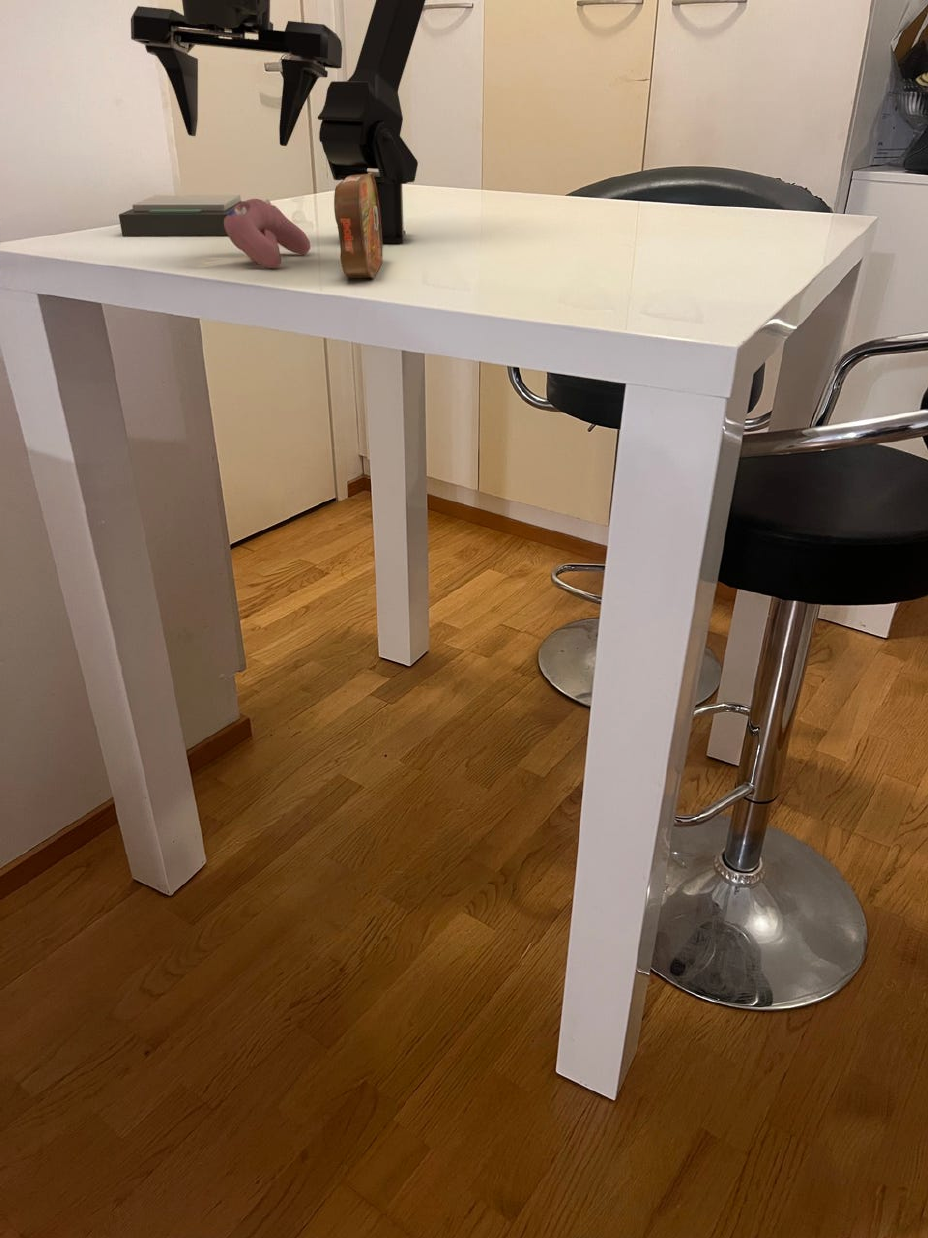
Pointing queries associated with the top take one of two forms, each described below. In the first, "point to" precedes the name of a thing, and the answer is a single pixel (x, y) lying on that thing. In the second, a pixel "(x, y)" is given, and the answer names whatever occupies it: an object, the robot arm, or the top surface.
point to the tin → (359, 225)
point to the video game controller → (264, 232)
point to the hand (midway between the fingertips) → (237, 140)
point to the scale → (178, 215)
